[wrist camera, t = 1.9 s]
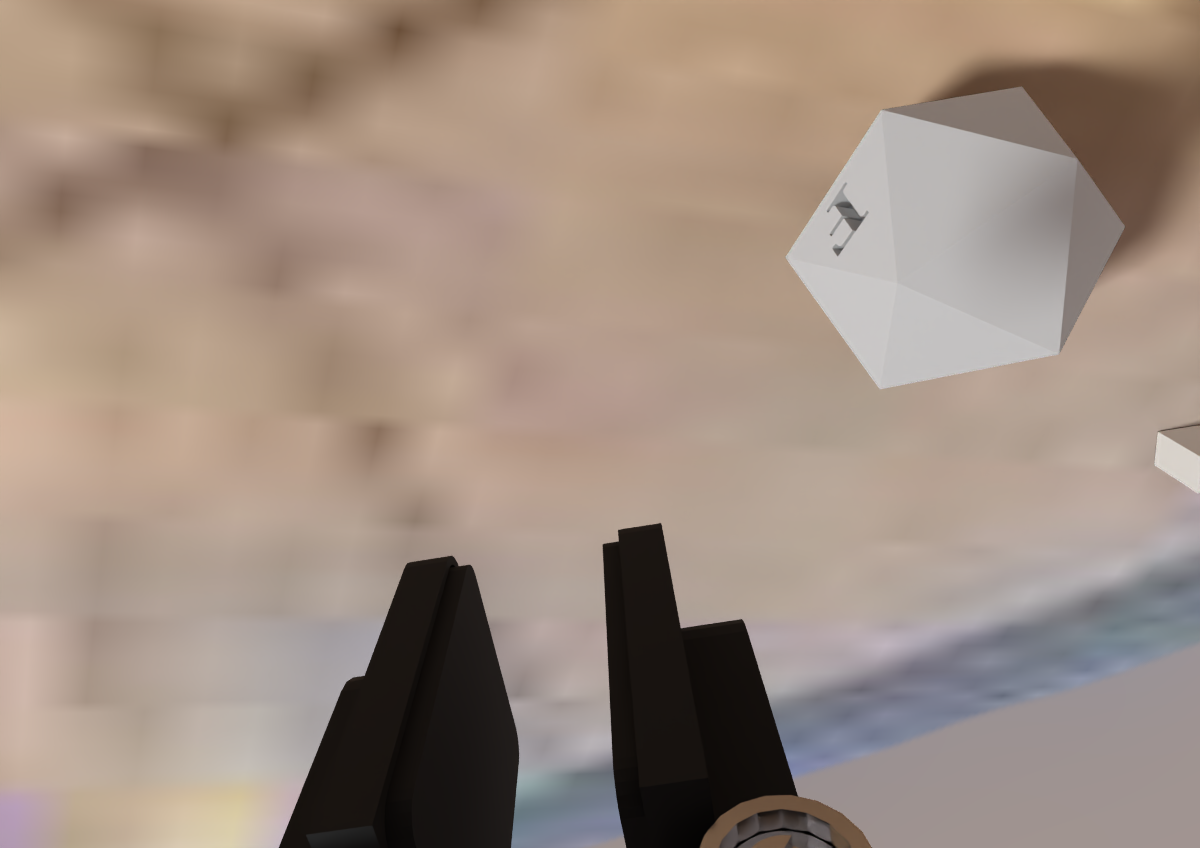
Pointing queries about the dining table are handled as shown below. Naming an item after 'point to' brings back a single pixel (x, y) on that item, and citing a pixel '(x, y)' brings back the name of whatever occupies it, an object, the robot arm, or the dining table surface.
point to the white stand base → (1180, 455)
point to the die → (956, 239)
